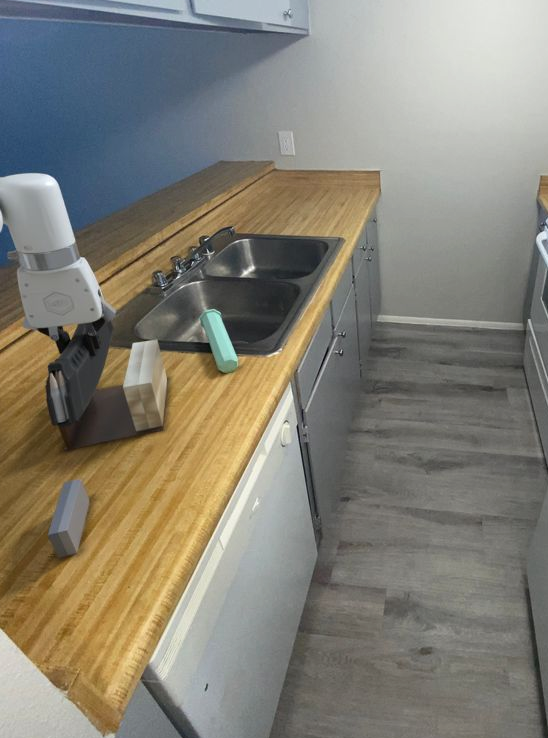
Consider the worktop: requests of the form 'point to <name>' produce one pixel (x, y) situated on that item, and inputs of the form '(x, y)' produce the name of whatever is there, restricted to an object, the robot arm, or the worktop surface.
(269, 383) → the worktop surface
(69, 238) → the robot arm
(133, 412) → the book rack
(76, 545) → the blue-grey rectangular block
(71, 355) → the magazine
